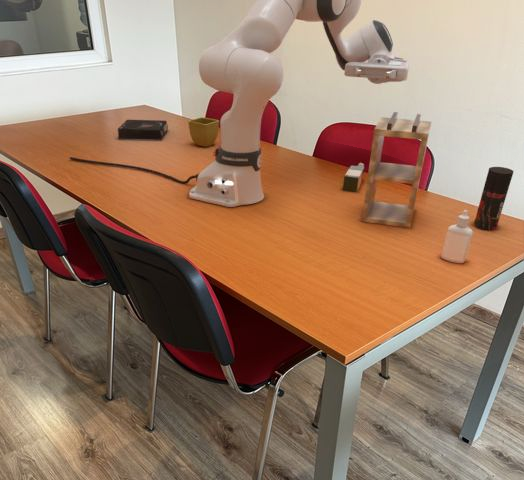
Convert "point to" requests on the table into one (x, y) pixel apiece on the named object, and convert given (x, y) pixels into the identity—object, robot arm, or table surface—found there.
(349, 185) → the bottle
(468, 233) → the eye dropper bottle
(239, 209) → the table surface
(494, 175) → the deodorant
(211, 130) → the flower pot
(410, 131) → the bottle rack
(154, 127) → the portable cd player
